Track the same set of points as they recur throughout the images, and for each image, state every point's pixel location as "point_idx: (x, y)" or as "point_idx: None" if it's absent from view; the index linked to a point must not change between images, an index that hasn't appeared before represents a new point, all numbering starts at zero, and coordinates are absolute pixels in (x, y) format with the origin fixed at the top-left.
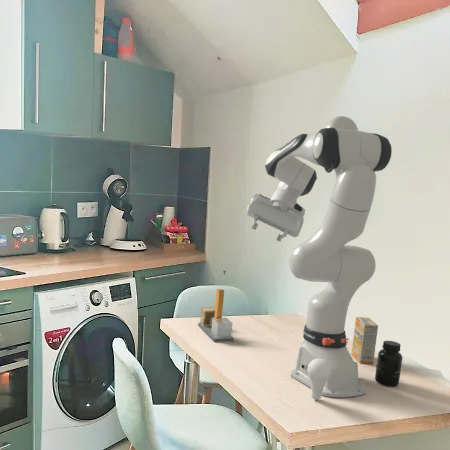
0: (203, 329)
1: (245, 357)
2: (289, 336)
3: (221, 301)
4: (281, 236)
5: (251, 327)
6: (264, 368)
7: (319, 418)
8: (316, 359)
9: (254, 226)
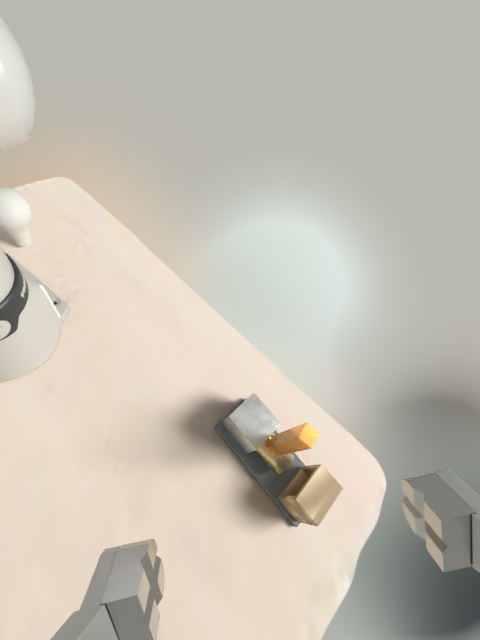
0: (293, 454)
1: (165, 352)
2: (81, 590)
3: (287, 437)
4: (101, 582)
5: (210, 590)
6: (121, 320)
7: None
8: (8, 193)
9: (427, 474)
